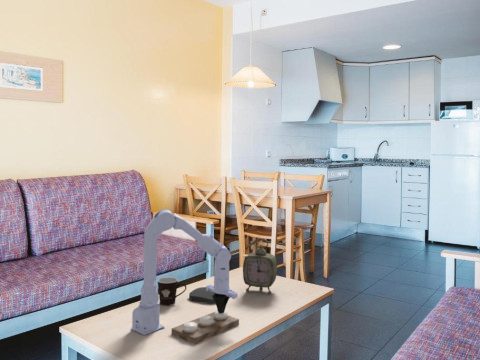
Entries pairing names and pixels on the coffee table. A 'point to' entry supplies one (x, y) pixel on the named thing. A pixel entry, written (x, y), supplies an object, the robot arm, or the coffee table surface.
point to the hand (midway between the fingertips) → (221, 312)
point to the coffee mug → (168, 290)
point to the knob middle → (206, 321)
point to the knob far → (221, 315)
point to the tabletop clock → (259, 268)
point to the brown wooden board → (205, 329)
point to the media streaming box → (202, 295)
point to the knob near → (190, 327)
